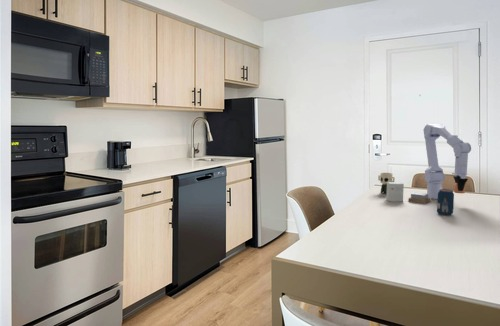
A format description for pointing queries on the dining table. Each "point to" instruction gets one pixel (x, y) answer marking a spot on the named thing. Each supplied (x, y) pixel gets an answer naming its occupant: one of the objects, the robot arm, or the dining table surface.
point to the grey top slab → (419, 195)
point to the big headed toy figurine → (385, 181)
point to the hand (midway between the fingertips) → (459, 189)
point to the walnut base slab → (419, 200)
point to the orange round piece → (457, 189)
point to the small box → (395, 191)
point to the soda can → (445, 202)
